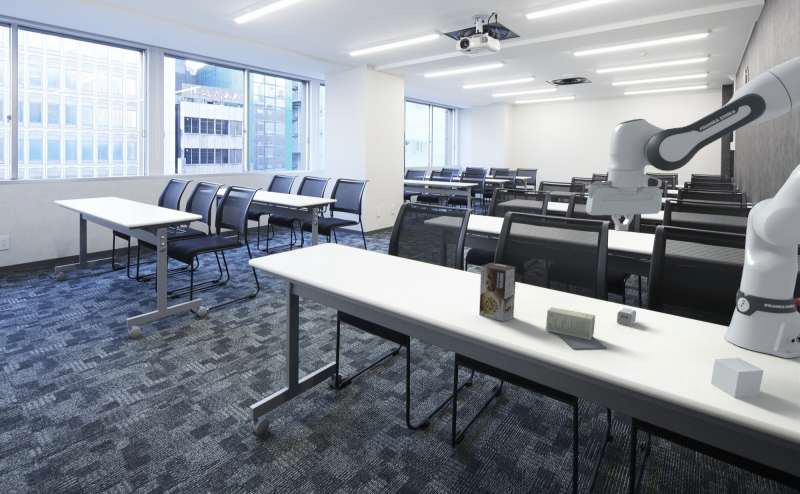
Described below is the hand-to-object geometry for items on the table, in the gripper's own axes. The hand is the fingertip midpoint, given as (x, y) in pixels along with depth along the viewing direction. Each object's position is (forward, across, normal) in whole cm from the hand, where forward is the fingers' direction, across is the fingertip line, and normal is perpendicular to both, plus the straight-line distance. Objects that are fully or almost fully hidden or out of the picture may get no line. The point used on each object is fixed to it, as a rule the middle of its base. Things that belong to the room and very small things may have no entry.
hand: (621, 230), depth 127 cm
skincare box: (+26, -10, -7) cm, 29 cm away
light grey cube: (+30, +7, -35) cm, 47 cm away
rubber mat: (+29, -14, -7) cm, 33 cm away
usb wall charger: (+30, +7, +5) cm, 31 cm away
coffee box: (+28, -31, +13) cm, 44 cm away
